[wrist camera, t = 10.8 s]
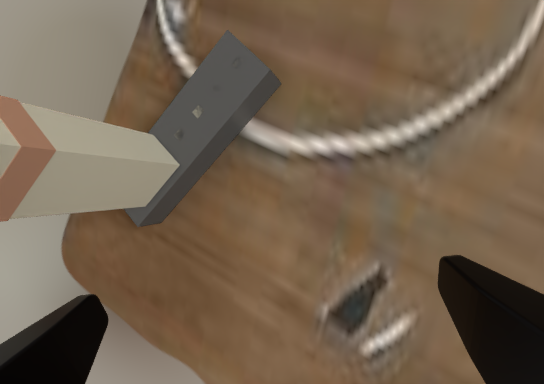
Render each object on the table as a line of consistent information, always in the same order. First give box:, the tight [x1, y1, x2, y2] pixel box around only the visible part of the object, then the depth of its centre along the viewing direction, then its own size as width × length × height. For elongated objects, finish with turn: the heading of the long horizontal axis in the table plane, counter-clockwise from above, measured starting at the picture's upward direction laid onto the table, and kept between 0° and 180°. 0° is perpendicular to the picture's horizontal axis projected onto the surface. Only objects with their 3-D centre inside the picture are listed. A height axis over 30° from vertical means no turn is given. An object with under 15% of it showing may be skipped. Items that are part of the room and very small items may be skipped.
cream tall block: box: [0, 96, 180, 221], centre depth 15 cm, size 3×4×10 cm
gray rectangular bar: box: [124, 30, 281, 227], centre depth 21 cm, size 4×14×2 cm, turn 135°
